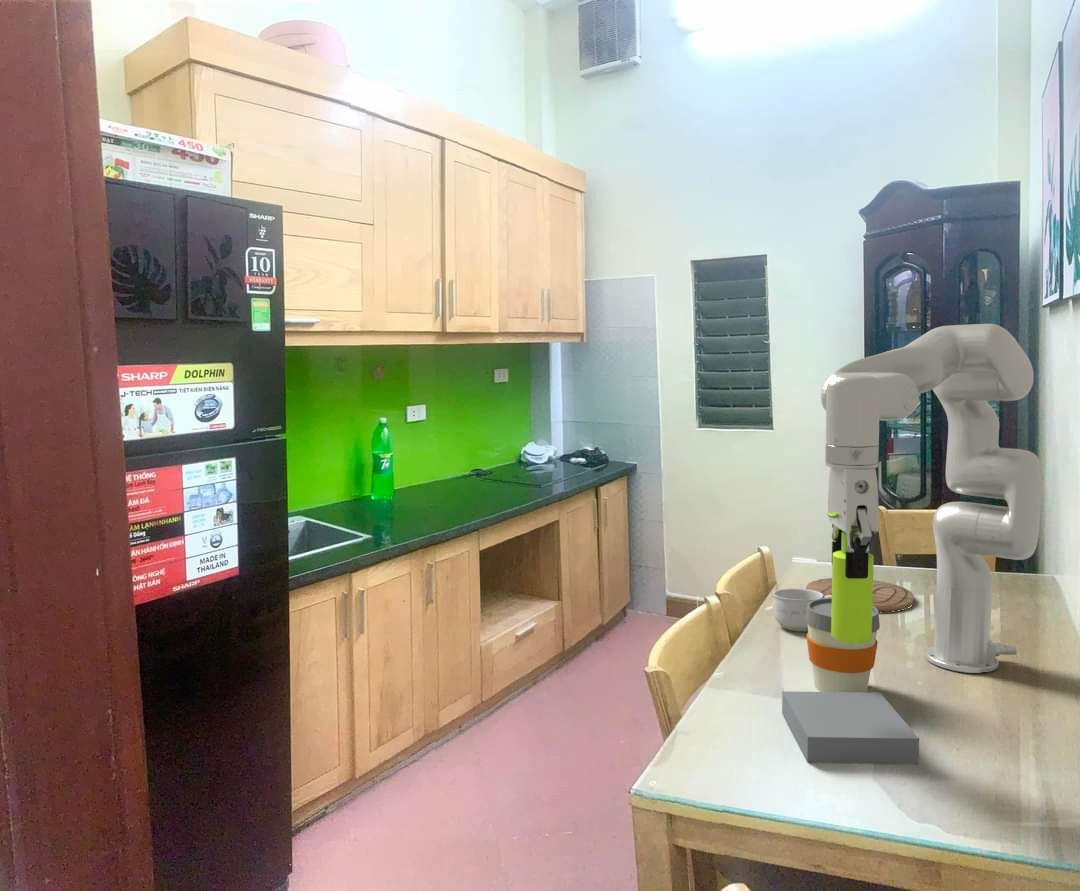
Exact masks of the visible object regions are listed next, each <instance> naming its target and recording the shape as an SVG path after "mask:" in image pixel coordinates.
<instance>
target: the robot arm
mask: <svg viewBox="0 0 1080 891" xmlns="http://www.w3.org/2000/svg"><path fill="white" fill-rule="evenodd" d="M1034 380H1035V379H1034V368H1033V365H1032V363H1031V361H1030V358H1029V357H1028V355H1027V354H1026V352H1025V350H1024V349H1023V348H1022V347H1021V345H1020V344H1019V342H1018V341H1017V339H1016V338H1015V337H1014V336H1013V335H1012V334H1011V332H1010V331H1008V330H1007V329H1006V328H1004V327H1003V326H1001V325H999V324H995V323H974V324H954V325H953V324H952V325H942V326H938V327H935V328H933V329H930V330H929V331H927V332H926V333H924V334H922V335H920V336H919V337H917V338H916V339H914V340H913V341H911V342H909V343H908V344H907V345H905V346H903V347H900V348H899V347H898V348H895V349H890V350H887V351H885V352H881V353H878V354H874V355H871V356H866V357H863V358H859V359H856V360H854V361H851V362H849V363H846V364H845V365H843V366H841V367H840V368H838V369H836V370H835V371H834V372H832V373H831V374H830V375H829V376H828V377H827V379H826V380H825V382H824V383H823V385H822V388H821V393H820V402H821V406H822V407H823V410H824V411H825V456H824V457H825V458H824V459H825V466H826V467H828V468H829V477H828V480H829V481H828V491H827V492H828V495H827V508H828V509H827V513H830V512H836V513H837V514H838V518H835V519H834V518H831V517H829V516H828V521H829V522H830V523H831V524H832V525H831V527H832V533H831V538H832V539H831V540H832V541H831V565H833V553H834V552H836V551H841V546H842V531H844V532H845V533H846V534H847V544H848V552H846V555H845V576H846V577H847V578H849V579H865V578H867V577H868V556H869V553H870V544H871V539H872V535H873V534H877V533H878V532H879V530H880V529H879V528H880V520H879V519H880V516H879V515H880V512H879V491H878V488H879V487H878V478H877V471H876V468H879V453H880V452H879V449H880V448H879V446H880V421H883V422H884V421H886V422H888V421H889V422H893V421H894V422H896V421H902V420H904V419H906V418H908V417H909V416H911V415H912V414H913V413H914V412H915V410H916V408H917V407H918V403H919V401H920V400H919V399H920V394H924V393H927V392H930V391H933V393H934V394H935V395H936V397H937V398H938V401H939V403H940V404H941V405H942V408H943V410H944V412H945V414H946V417H947V422H948V424H947V425H948V426H947V427H948V428H947V429H948V431H947V443H946V444H947V446H946V460H945V482H946V485H947V488H949V490H950V491H952V492H954V493H956V494H960V495H964V496H965V495H967V496H972V497H973V496H974V497H979V498H980V497H981V498H988V499H989V498H991V499H998V500H1005V501H1006V503H1007V506H1002V505H993V504H988V503H987V504H986V503H978V502H977V503H976V502H969V501H950V502H947V503H943V504H941V505H940V506H939V507H938V508H937V509H936V510H935V512H934V514H933V518H932V531H933V537H934V542H935V543H934V544H935V550H936V589H935V615H934V616H935V617H934V642H933V643H934V645H931V646H929V647H927V648H926V649H925V653H924V654H925V655H924V656H925V658H926V660H928V661H929V662H930V663H932V664H933V665H934V666H937V667H940V668H943V669H946V670H950V671H954V672H960V673H965V674H966V673H968V674H982V673H981V672H987V673H991V672H993V670H994V671H996V670H997V669H998V668H999V660H998V657H1000V656H1001V655H1004V656H1016V655H1017V653H1018V651H1017V647H1016V645H1014V644H1003V642H1002V641H992V640H991V623H992V622H991V621H992V600H993V599H992V597H993V574H992V571H991V569H990V567H989V565H988V563H987V562H986V561H985V559H984V557H983V555H984V556H989V557H996V558H1000V559H1007V560H1009V559H1010V560H1016V561H1017V560H1018V561H1022V560H1027V559H1029V558H1030V557H1032V556H1033V554H1034V553H1035V552H1036V549H1037V546H1038V542H1039V534H1040V523H1041V510H1042V497H1043V496H1042V495H1043V483H1044V482H1043V478H1044V476H1043V466H1042V463H1041V460H1040V459H1039V457H1038V456H1037V454H1035V453H1034V452H1032V451H1030V450H1026V449H1022V448H1008V447H1007V448H1006V447H1000V445H999V438H1000V434H999V433H1000V421H999V420H1000V419H999V417H998V415H997V413H996V412H995V410H994V409H993V407H992V406H991V405H990V404H989V402H988V401H993V402H995V401H998V402H1012V401H1019V400H1021V399H1023V398H1024V397H1026V396H1027V395H1029V393H1030V391H1031V390H1032V387H1033V384H1034ZM851 528H859V531H852V529H851ZM853 536H859V537H858V538H856V539H855V541H854V543H853ZM995 669H996V670H995ZM990 671H991V672H990Z"/></svg>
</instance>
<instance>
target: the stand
mask: <svg viewBox="0 0 1080 891" xmlns="http://www.w3.org/2000/svg"><path fill="white" fill-rule="evenodd" d="M781 693H782V694H781V695H782V696H781V697H782V698H781V704H782V705H781V715H782V714H783V715H782V716H784V717H783V719H784V718H785V719H784V721H785V720H786V721H785V722H787V723H786V725H787V726H788V728H789V730H790V732H791V734H792V736H793V738H794V739H795V742H796V744H797V745H798V748H799V749H800V751H801V753H802V755H803V757H804V759H805V760H806V763H813V764H816V763H817V764H870V765H871V764H874V765H877V764H878V765H881V764H883V765H919V755H920V754H919V753H920V752H919V750H920V749H919V748H920V738H919V737H918V735H917V734H916V733H915V732H914V731H913V730H912V729H911V727H910V726H909V725H908V724H907V723H906V722H905V720H904V719H903V717H901V716H900V715H899V713H898V712H897V711H896V710H895V709H894V708H893V706H892V705H891V703H889V702H888V700H887V699H886V698H885V696H883V695H882V693H881V692H873V691H872V692H870V691H869V692H868V691H867V692H820V691H782V692H781Z"/></svg>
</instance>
